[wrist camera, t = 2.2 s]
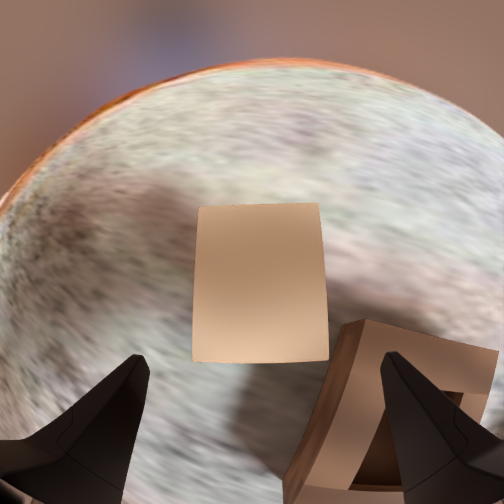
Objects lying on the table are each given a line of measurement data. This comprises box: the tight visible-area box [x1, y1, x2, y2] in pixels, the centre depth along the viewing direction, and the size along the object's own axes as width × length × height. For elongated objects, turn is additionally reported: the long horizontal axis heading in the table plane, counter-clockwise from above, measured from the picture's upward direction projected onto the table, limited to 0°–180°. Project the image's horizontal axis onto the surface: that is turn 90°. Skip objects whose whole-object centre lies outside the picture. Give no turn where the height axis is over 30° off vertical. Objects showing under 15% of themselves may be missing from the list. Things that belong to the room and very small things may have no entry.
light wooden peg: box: [192, 203, 329, 363], centre depth 13 cm, size 4×4×12 cm
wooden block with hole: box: [282, 319, 499, 504], centre depth 13 cm, size 13×11×6 cm
